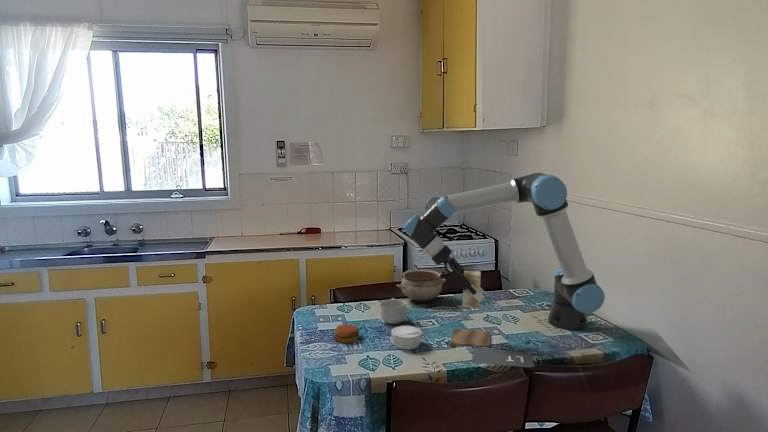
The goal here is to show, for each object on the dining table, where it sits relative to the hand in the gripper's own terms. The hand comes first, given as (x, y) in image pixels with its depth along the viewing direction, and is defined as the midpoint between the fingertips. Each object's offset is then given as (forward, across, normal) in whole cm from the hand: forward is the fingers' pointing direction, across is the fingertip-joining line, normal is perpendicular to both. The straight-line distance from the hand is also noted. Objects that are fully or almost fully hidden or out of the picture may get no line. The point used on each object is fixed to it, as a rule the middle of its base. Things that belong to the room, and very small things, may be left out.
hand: (481, 296), depth 190 cm
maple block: (0, 0, -5) cm, 5 cm away
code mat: (+18, +15, -7) cm, 24 cm away
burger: (-22, +6, -48) cm, 53 cm away
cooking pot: (-7, -44, -32) cm, 55 cm away
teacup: (-13, -16, -38) cm, 43 cm away
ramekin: (-6, +8, -31) cm, 33 cm away
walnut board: (+10, 0, -15) cm, 18 cm away
